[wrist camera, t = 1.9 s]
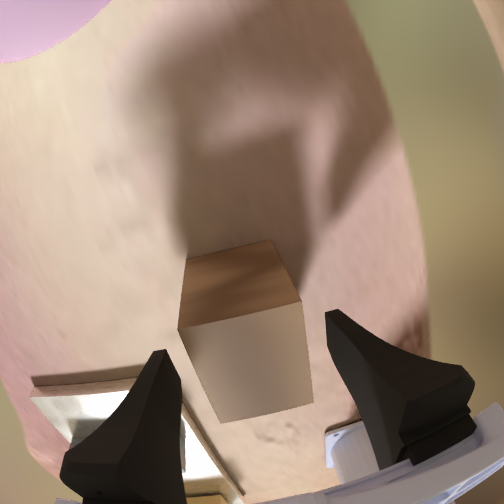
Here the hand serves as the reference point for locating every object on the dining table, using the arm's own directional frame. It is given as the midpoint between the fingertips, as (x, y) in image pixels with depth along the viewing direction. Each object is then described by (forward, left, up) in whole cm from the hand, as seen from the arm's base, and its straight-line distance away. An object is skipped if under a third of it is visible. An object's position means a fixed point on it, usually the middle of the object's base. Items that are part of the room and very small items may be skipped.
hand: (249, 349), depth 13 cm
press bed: (+12, +17, -4) cm, 21 cm away
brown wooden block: (0, 0, -5) cm, 5 cm away
